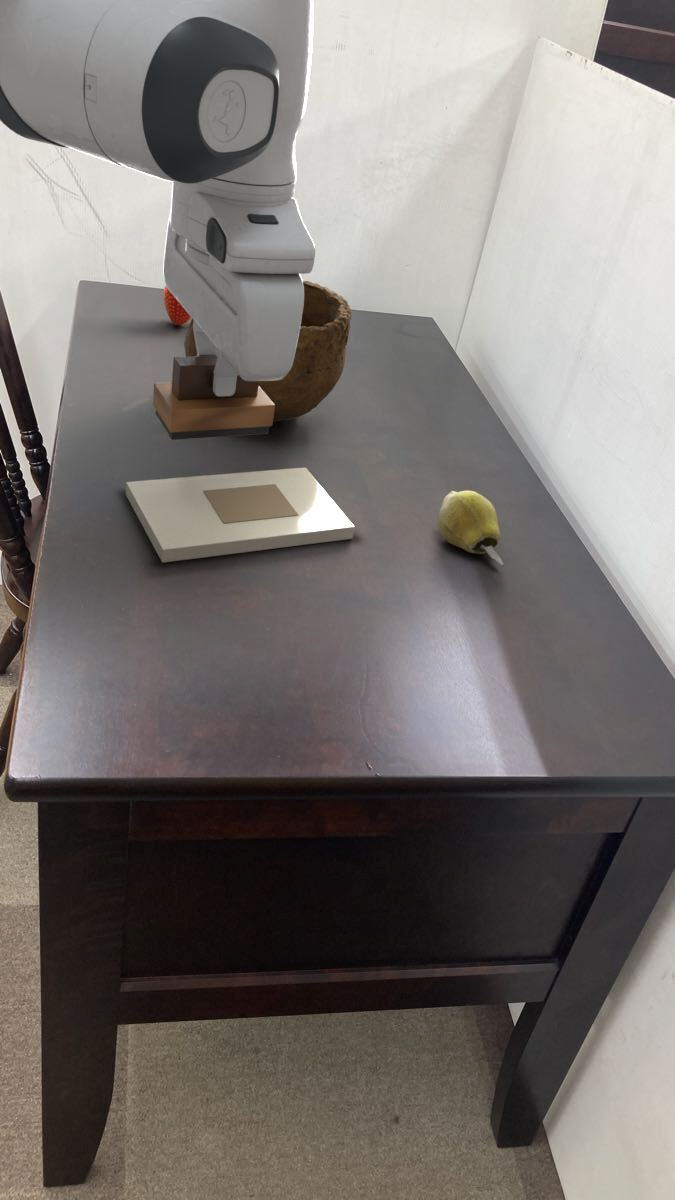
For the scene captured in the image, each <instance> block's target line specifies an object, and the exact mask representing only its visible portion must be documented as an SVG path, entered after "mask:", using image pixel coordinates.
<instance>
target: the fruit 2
mask: <svg viewBox="0 0 675 1200" xmlns="http://www.w3.org/2000/svg"><path fill="white" fill-rule="evenodd" d="M441 504H442V506H441V508H440V510H439V511H438V514H437V520H436V521H437V523H436V524H437V527H438V529H439V532H440V533H441V535H442V538H444V540H445V541H446V542H447V543H449V544H450V545H453V546H455V547H458V548H461V549H463V550H464V551H466V552H467V553H470V554H477V555H484V554H485V553H486V554H488V556H489V557H490V558H491V559H492V560H493V561H495V562H496V563H497V564H498V565H499V566H500V567H504V562H503V561H502V559H501V557H500V556H499V554H498V553H497V551H496V550H494V549H495V548H496V547H497V546H498V545H499V544H500V541H501V533H500V530H499V521H498V515H497V512H496V509H495V507H494V505H493V503H492V502H491V501H490V500H489V499H487V498H486V497H485V496H483V495H482V494H480V493H478V492H476V491H474V490H461V491H456V490H451V491H450V492H449V493H448V494H446V496H445V497H444V498H443V499H442V503H441Z"/></svg>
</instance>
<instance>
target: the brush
mask: <svg viewBox="0 0 675 1200" xmlns="http://www.w3.org/2000/svg"><path fill="white" fill-rule="evenodd" d="M217 359H218V357H217V356H193V357H186V356H174V357H173V359H172V363H173V364H172V374H171V375H172V377H171V382H154V383H153V392H152V393H153V394H152V406H153V407H154V409H155V411H154V412H155V416H156V418H157V419H158V421H159V422H160V424H161V426H162V427H163V429H164V431H165V432H166V433H167V435H168V436H169V438H170V439H171V441H176V440H194V439H205V438H206V439H208V438H221V437H238V436H240V437H241V436H252V435H267V434H269V430H270V427H273V424H274V421H273V417H274V410H275V404H274V403H273V402H272V401H271V400H270V399H269V397H268V396H267V395H266V394H265V393H264V391H263V390H262V389H261V388H260V387H259V381H245V380H243V379H242V378H241V377H240V376H239V375H238V376H237V381H236V389H235V393H234V394H233V395H232V396H220V397H218V396H217V395H215V393H214V392H213V391H212V389H211V388H210V386H209V381H210V369H215V366H216V362H217Z"/></svg>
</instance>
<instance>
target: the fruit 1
mask: <svg viewBox="0 0 675 1200" xmlns="http://www.w3.org/2000/svg"><path fill="white" fill-rule="evenodd" d="M162 297H163V298H162V299H163V303H164V308H165V311H166V314H167V316H168V318H169V320H170V321H171V322H172V324H174V326H175V325H176V326H182V325H185V324H186V323H187V322H189V321H191V320H192V317H191V316H190V315H189V314H188V313H187V311H186V310H185V309H184V308H183V307H182V305H181V304H180V303H179V302H178V300H177V299H176V298H175V297H174V296H173V294H172V293H171V292H170V291H169V290H168V288H167V287H166V285H165V286H164V288H163V295H162Z"/></svg>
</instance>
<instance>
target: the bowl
mask: <svg viewBox="0 0 675 1200" xmlns="http://www.w3.org/2000/svg"><path fill="white" fill-rule="evenodd" d="M303 285H304V306H303V313H302V319H301V326H300V332H299V337H298V343H297V348H296V352H295V357H294V361H293V365H292V367H291V369H290V371H289V372H288V374H287V375H286V376H285V377H284V378H283V379H281V380H274V381H259V387H260V388H261V389H262V390H263V391H264V393H265V394H266V395H267V396H268V397H269V399H270V400H271V401H272V402H273V403H274V404H275V410H274V417H273V422H280V421H288V420H293V419H297V418H300V417H301V416H304V415H307V414H308V413H310V412H311V411H312V410H313V409H315V408H317V406H318V405H319V404H321V402H322V401H323V400H324V399H326V397H328V396H329V394H330V393H331V392H332V391H333V389H334V388H335V386H336V385H337V383H338V382H339V381H340V378H341V376H342V374H343V372H344V368H345V364H346V359H347V358H346V357H347V348H346V347H347V345H348V340H349V333H350V329H351V320H352V311H351V309H352V308H351V306H350V304H349V303H348V301H347V300H346V299H345V298H344V297H343V296H342V295H339V294H338V293H337V292H336V291H333V290H331V289H330V288H328V287H327V286H321V285H320V284H319V283H318V282H314V283H313V282H311V281H310V280H303ZM183 345H184V354H185V357H193V356H197V350H196V344H195V337H194V331H193V319H192V318H191V319H190V323H189V324H188V326H187V328H186V332H185V336H184V344H183Z"/></svg>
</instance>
